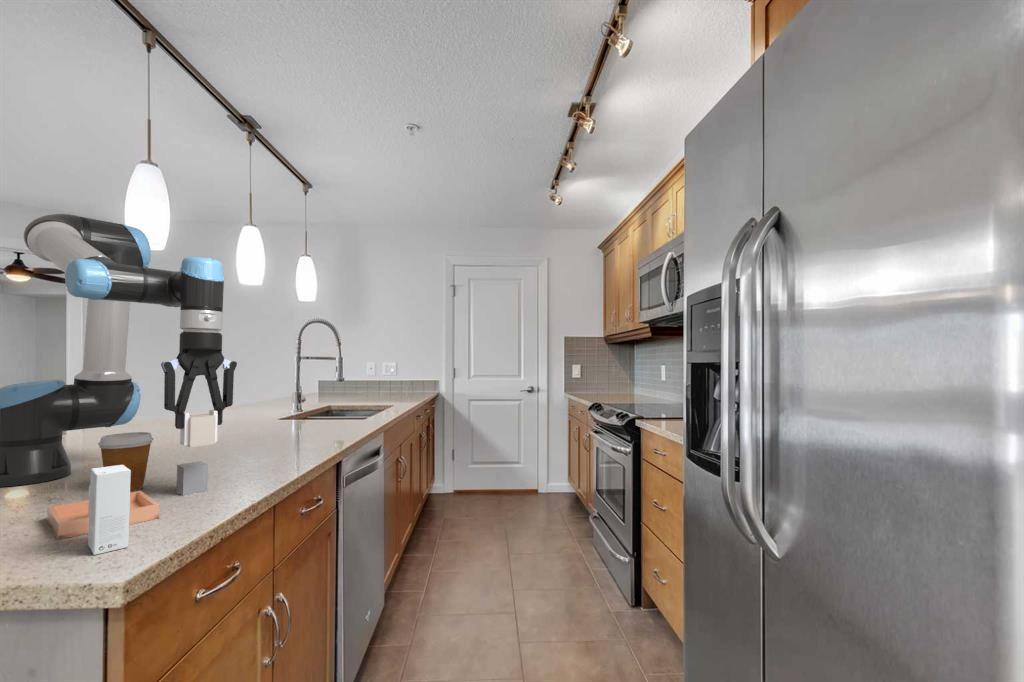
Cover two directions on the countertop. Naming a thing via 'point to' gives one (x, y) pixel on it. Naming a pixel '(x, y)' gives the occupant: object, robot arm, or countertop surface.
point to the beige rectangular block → (201, 430)
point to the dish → (76, 521)
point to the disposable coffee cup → (128, 454)
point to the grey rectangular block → (192, 478)
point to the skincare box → (109, 508)
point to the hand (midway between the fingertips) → (198, 442)
